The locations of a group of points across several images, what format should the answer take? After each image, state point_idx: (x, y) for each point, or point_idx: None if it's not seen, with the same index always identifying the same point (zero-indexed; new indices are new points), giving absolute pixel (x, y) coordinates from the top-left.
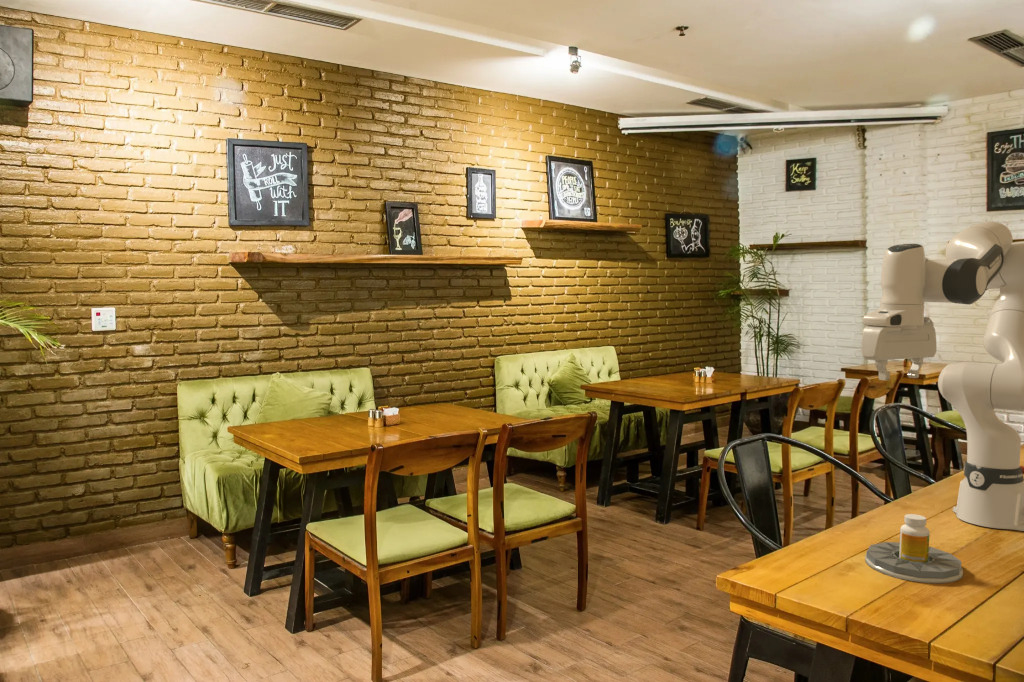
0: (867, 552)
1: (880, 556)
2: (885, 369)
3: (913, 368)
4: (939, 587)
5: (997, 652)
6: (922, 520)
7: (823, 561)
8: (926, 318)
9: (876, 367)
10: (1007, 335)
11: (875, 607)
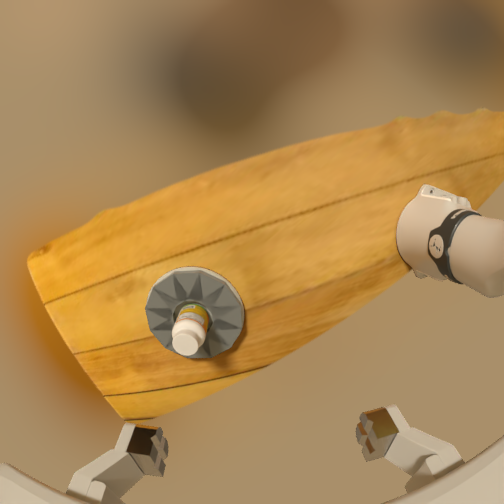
0: (152, 289)
1: (155, 305)
2: (124, 483)
3: (397, 447)
4: (176, 355)
5: (135, 417)
6: (184, 354)
7: (113, 264)
8: None
9: (91, 462)
10: None
11: (98, 355)
